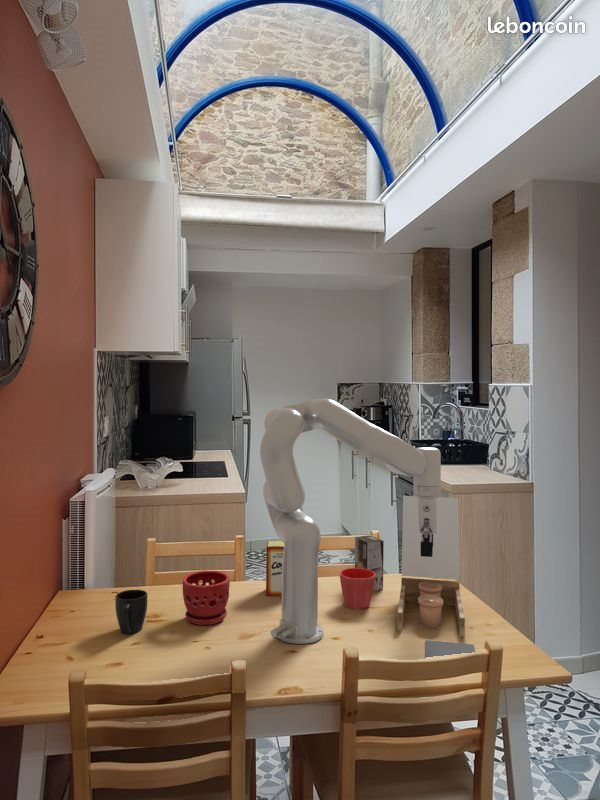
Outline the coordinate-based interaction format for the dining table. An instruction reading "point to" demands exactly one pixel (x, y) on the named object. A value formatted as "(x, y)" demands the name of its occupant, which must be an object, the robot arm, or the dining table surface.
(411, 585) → the wooden open tray
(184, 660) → the dining table surface
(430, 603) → the small pot
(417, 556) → the lid
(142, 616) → the mug
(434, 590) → the pot
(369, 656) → the dining table surface
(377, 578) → the coffee box
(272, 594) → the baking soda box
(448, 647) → the rubber mat
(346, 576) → the flower pot
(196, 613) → the plant pot
